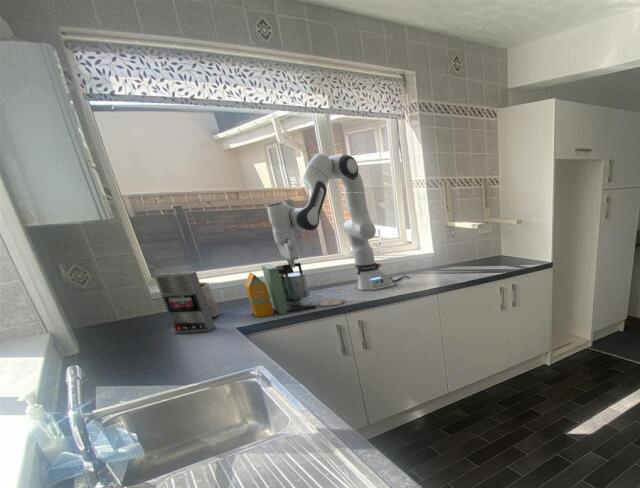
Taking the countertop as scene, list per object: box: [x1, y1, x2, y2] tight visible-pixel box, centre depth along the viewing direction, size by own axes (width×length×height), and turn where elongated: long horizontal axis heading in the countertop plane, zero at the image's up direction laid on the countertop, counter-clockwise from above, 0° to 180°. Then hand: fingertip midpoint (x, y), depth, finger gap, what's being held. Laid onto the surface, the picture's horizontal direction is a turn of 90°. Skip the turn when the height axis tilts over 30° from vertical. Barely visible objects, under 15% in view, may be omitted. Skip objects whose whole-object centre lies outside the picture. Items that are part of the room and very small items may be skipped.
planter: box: [200, 282, 220, 320], centre depth 201 cm, size 18×18×16 cm
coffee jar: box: [275, 264, 301, 302], centre depth 230 cm, size 10×8×19 cm
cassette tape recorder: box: [153, 271, 216, 335], centre depth 181 cm, size 14×6×25 cm, turn 99°
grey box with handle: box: [282, 262, 311, 299], centre depth 213 cm, size 10×12×16 cm
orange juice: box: [244, 272, 275, 318], centre depth 205 cm, size 8×9×20 cm
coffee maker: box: [261, 263, 317, 315], centre depth 213 cm, size 18×15×22 cm
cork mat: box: [319, 299, 344, 307], centre depth 224 cm, size 12×12×1 cm
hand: (292, 267), depth 211 cm, fingers closed on grey box with handle
